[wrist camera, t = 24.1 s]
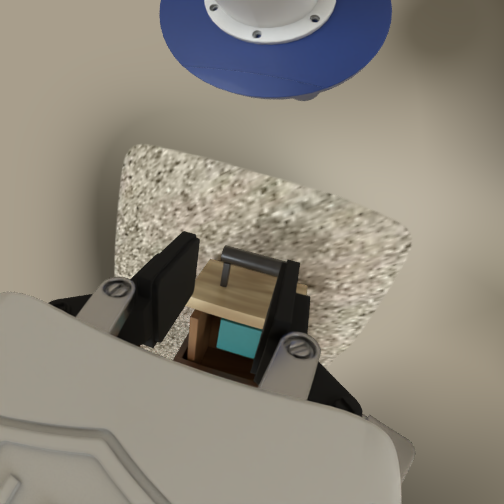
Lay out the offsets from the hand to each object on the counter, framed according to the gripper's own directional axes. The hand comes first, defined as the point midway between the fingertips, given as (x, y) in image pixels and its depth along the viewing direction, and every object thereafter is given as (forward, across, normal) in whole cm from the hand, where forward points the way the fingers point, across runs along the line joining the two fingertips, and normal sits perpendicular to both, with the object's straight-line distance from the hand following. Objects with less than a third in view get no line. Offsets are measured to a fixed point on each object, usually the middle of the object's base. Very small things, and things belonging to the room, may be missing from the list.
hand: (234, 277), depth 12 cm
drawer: (+14, 0, +13) cm, 19 cm away
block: (+13, 0, +13) cm, 19 cm away
